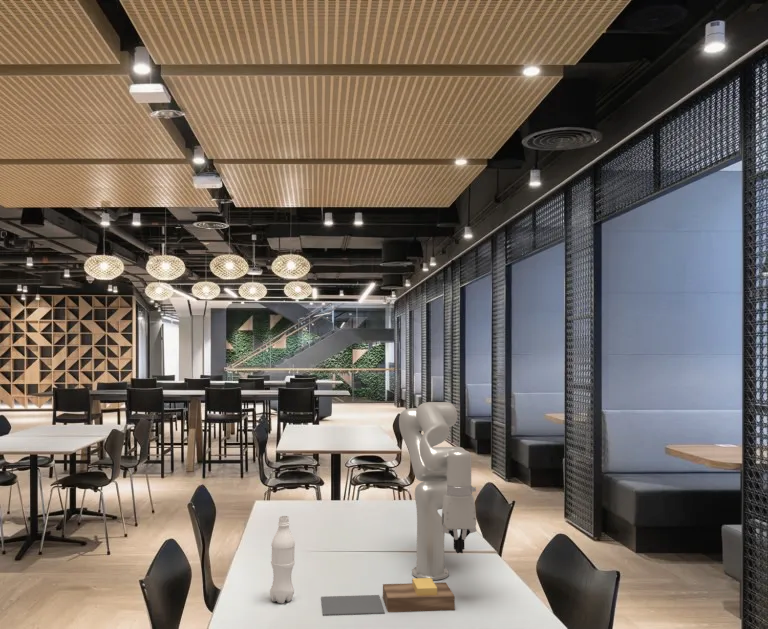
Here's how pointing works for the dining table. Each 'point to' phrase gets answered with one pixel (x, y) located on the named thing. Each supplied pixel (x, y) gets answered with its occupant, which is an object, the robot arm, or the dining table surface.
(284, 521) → the water bottle
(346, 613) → the mat
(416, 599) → the brown wooden block
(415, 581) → the yellow rectangular block
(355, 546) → the dining table surface
